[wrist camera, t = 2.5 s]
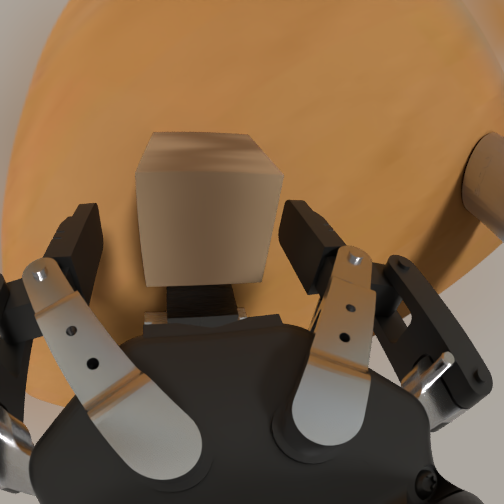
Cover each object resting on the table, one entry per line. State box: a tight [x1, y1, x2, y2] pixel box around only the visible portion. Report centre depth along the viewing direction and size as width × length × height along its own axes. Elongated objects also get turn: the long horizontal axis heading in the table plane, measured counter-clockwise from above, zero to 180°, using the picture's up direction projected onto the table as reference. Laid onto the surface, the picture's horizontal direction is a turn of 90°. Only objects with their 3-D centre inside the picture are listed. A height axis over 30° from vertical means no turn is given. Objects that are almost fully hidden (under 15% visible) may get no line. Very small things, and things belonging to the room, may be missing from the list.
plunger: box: [167, 284, 239, 328], centre depth 16 cm, size 6×10×6 cm, turn 172°
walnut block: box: [135, 132, 284, 287], centre depth 12 cm, size 5×5×6 cm
